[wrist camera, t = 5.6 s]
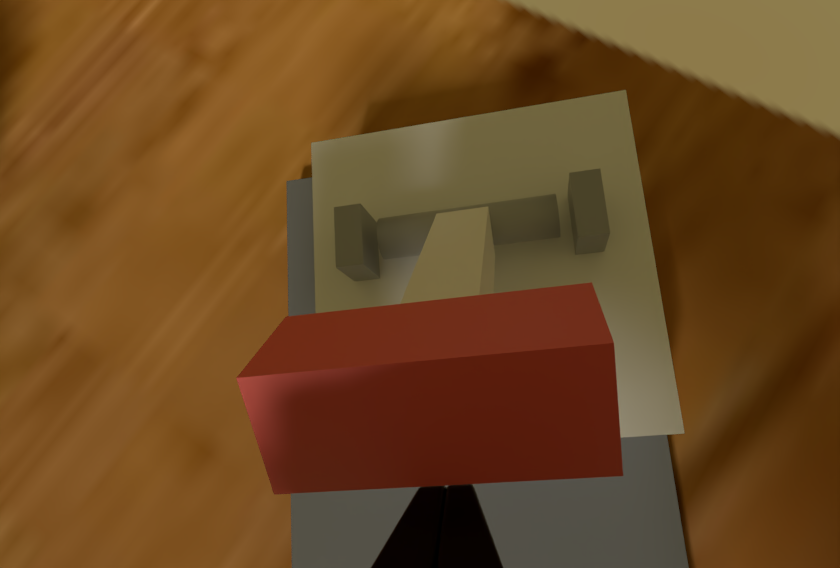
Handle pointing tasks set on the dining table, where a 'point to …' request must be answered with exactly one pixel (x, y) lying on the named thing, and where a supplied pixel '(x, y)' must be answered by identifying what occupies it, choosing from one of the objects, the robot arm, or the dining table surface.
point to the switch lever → (442, 371)
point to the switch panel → (514, 270)
